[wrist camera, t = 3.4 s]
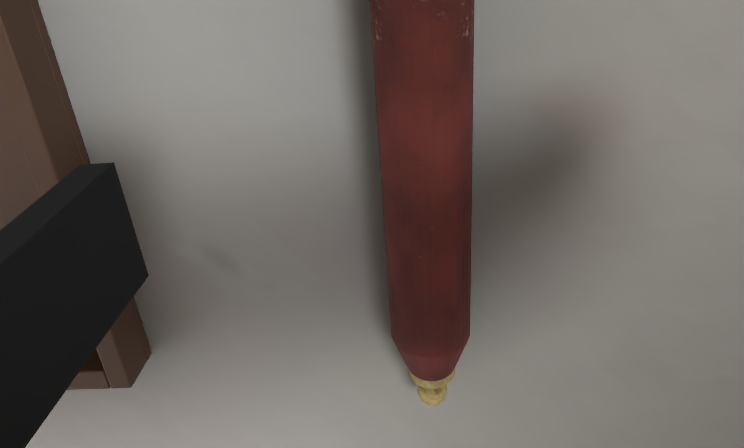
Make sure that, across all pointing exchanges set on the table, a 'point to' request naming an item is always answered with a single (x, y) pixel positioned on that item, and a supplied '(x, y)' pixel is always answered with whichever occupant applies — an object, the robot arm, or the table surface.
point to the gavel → (426, 178)
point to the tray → (51, 167)
